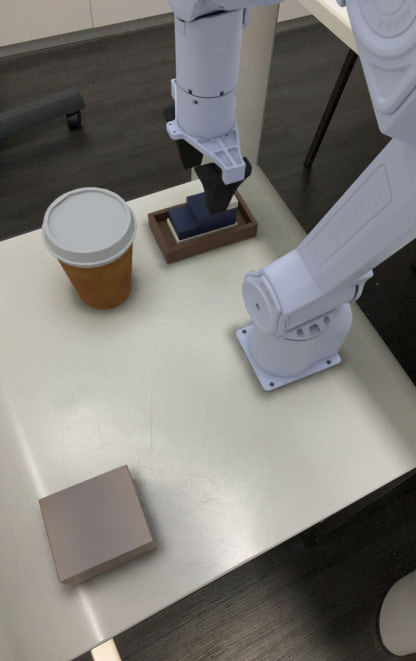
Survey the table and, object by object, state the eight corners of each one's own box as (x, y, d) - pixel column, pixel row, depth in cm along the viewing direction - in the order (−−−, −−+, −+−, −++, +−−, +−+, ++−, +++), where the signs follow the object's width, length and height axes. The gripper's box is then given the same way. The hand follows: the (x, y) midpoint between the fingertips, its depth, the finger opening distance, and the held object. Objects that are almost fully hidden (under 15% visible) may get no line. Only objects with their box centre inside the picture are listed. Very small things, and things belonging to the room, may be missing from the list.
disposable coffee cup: (130, 246, 64) (118, 174, 54) (155, 306, 60) (148, 240, 50) (55, 269, 62) (28, 198, 52) (76, 332, 58) (51, 269, 48)
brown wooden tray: (234, 200, 69) (236, 187, 67) (256, 236, 66) (258, 224, 64) (148, 225, 66) (147, 213, 64) (167, 264, 63) (166, 252, 61)
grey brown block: (132, 477, 50) (126, 463, 46) (157, 548, 47) (153, 541, 43) (51, 510, 49) (38, 499, 44) (71, 586, 45) (59, 582, 41)
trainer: (224, 207, 67) (226, 178, 63) (237, 229, 65) (240, 201, 61) (166, 224, 65) (165, 195, 61) (178, 247, 64) (177, 219, 59)
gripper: (140, 44, 50) (150, 155, 62) (197, 139, 43) (196, 243, 55) (206, 29, 51) (204, 141, 63) (271, 119, 45) (255, 224, 57)
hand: (204, 187), depth 59 cm, fingers open, 7 cm apart
